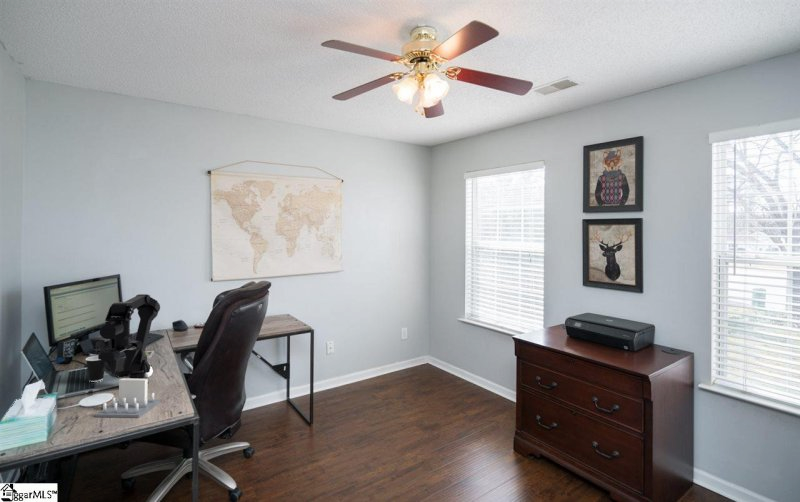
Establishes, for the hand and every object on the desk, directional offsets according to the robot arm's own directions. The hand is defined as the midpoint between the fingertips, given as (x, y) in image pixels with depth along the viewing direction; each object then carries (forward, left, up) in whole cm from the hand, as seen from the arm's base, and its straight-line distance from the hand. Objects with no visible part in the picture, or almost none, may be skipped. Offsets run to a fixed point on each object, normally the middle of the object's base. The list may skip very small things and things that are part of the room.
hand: (121, 370), depth 165 cm
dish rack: (+10, +10, -12) cm, 19 cm away
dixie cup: (-19, -24, -12) cm, 33 cm away
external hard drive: (-37, -22, -13) cm, 44 cm away
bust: (-27, -7, -12) cm, 30 cm away
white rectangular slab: (+7, +10, -11) cm, 16 cm away
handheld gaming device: (-59, -27, -13) cm, 66 cm away
